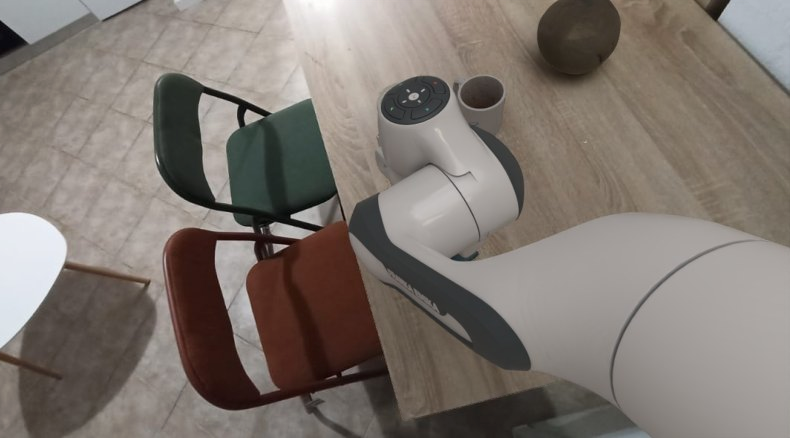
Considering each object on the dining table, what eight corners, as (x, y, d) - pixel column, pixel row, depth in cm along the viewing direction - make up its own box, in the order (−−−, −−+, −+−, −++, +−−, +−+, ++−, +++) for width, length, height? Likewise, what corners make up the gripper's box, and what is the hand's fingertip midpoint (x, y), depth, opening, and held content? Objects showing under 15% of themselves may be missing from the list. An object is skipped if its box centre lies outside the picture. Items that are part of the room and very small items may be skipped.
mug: (509, 129, 89) (515, 98, 81) (469, 147, 90) (470, 118, 81) (480, 88, 95) (482, 55, 86) (442, 105, 96) (441, 73, 87)
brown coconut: (607, 36, 92) (632, -28, 79) (606, 90, 87) (633, 31, 74) (532, 38, 97) (545, -22, 84) (528, 89, 92) (540, 34, 79)
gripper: (358, 141, 62) (373, 186, 74) (457, 244, 52) (457, 277, 64) (393, 114, 62) (403, 164, 75) (499, 212, 52) (491, 251, 65)
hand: (428, 217), depth 69 cm, fingers closed on milk carton, 7 cm apart
